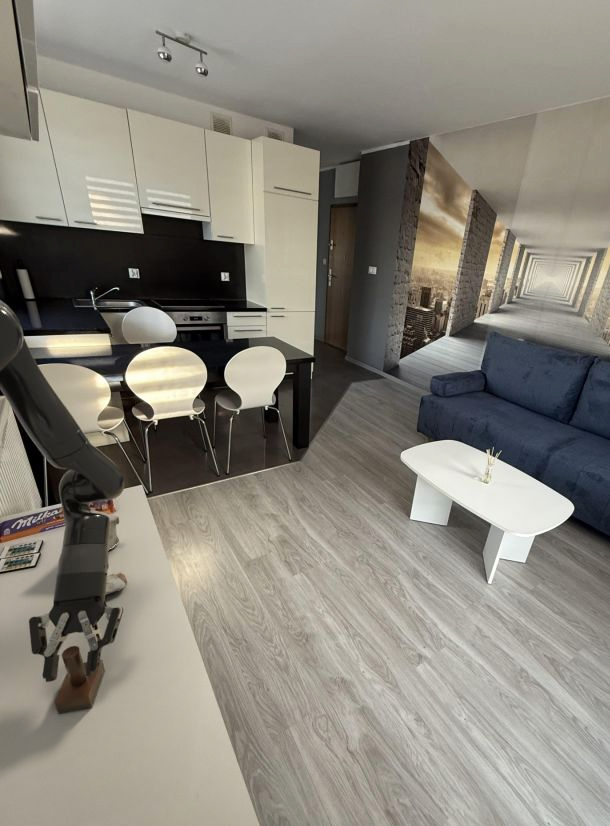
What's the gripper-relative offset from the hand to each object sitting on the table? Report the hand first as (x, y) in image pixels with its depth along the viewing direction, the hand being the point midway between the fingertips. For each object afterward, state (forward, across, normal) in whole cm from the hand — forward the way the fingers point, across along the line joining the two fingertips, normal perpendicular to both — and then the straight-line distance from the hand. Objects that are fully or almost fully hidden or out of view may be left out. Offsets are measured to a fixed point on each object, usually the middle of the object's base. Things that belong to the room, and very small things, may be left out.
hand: (71, 677), depth 66 cm
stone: (-14, -4, +24) cm, 28 cm away
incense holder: (-24, -9, +33) cm, 41 cm away
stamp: (+3, 0, +6) cm, 6 cm away
